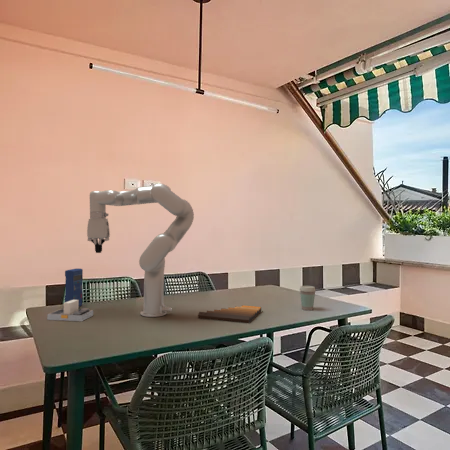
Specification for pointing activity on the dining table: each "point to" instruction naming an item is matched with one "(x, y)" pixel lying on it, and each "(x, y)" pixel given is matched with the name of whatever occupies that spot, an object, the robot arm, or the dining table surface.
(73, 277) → the electronic device
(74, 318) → the rack
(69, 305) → the block
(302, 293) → the coffee cup
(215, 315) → the pan flute
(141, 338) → the dining table surface
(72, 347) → the dining table surface
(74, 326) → the dining table surface
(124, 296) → the dining table surface
